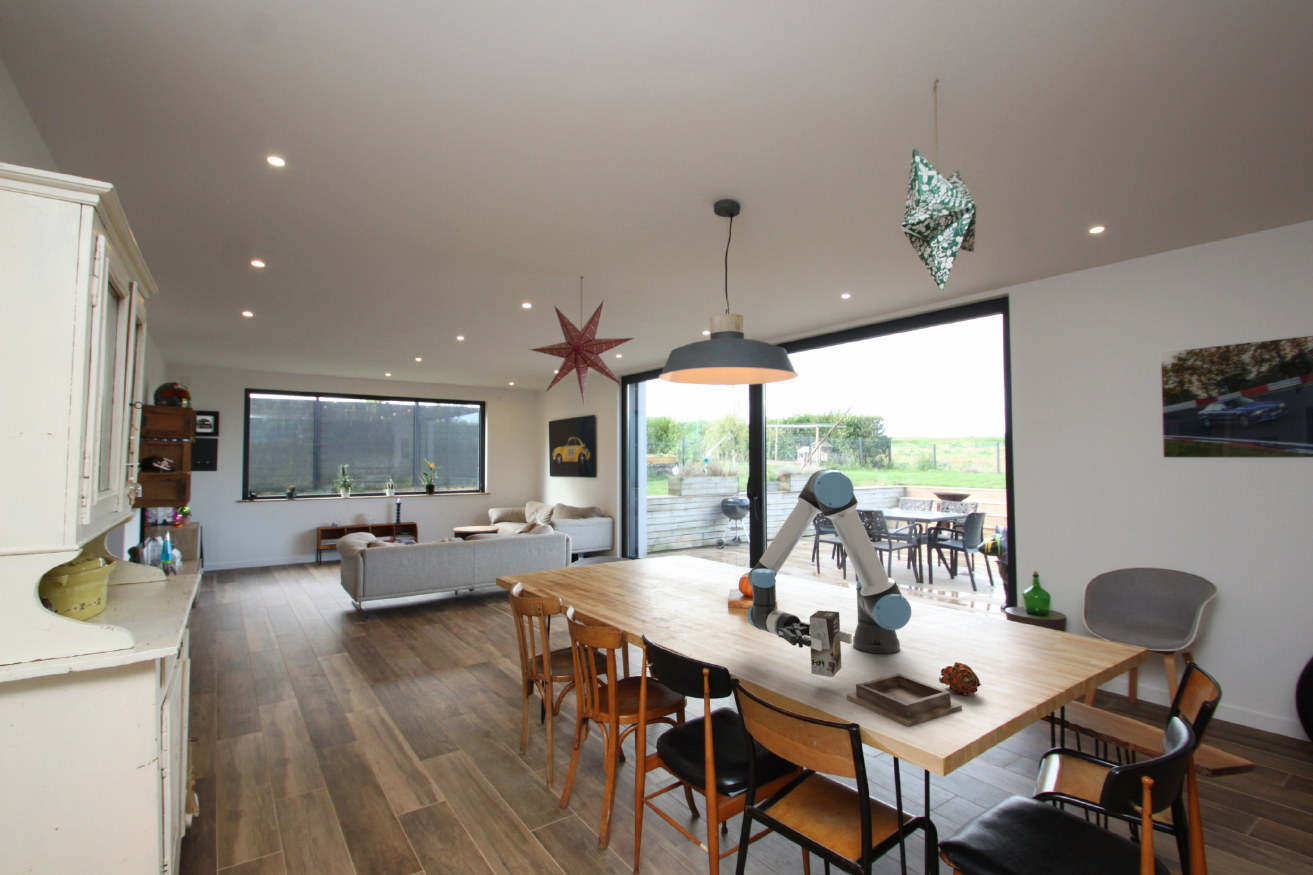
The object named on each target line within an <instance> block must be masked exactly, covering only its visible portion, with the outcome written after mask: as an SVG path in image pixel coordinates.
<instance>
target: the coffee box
mask: <svg viewBox="0 0 1313 875" xmlns="http://www.w3.org/2000/svg"><path fill="white" fill-rule="evenodd" d="M840 623H841V621H840V612H839V611H831V610H817V611H816V612H814V613H813V614H812V615H810V616H809V624H810V636H809V637H812V638H815V639H818V640H821V641H822V651H818V650H816V649H813V648H810V665H811V666H810V669H811V671H810V672H811V675H816V676H823V677H829V678H833V677H834V676H835V675H836V674H838V672H839V671H840V670H841V669H842V651H841V650H842V647H841V646H842V645H841V641H840V631H841V624H840Z"/></svg>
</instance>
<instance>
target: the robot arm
mask: <svg viewBox="0 0 1313 875" xmlns="http://www.w3.org/2000/svg"><path fill="white" fill-rule="evenodd" d="M854 490H855V489H854V485H853V481H852V480H851V479H850V477H849V476H848V475H847V474H845V473H844V472H842V471H840V470H837V469H820V470H819V469H818V470H817V471H815V472H814V473H812V475H811V476H810V477H809V479H808V480H807V482H806V483H805V485H804V486H803V488H802V490H801V492H800V493H799V495H798V497H797V500H798V501H797V503H796V505H795V506H794V508H793V509H792V510H791V512H790V514H789V516H788V517H787V518H786V520H785V521H784V523H783V524H782V526H781V527H780V529H779V530H778V532H777V533H776V535H775V537H773V539H772V541H771V543H770V544H769V546H768V547H767V548H766V550H765V551H764V553H763V554H762V555H761V557H760V559H759V560H758V562H757V563H756V565H755V566H754V567H753V568H751V569H750V570H749V572H748V576H747V581H748V584H749V586H750V588H751V590H752V605H751V606H750V607H749V608H748V609H747V610H748V611H747V612H746V619H747V621H748V623H749V625H751V626H752V627H754V628H756V629H758V630H760V631H764V632H767V633H770V634H773V635H775V636H777V637H778V638H781V639H783V640H785V641H786V642H788V643H789V644H790V645H791V646H797V644H798V648H800V649H802V648H803V647H804V646H806V647H808V648H810V649H811V648H813V649H816V650H818V651H822V641H821V640H818V639H815V638H812V637H810V623H807V622H803V621H801V619H800V618H799V617H798V616H797V615H794V614H791V613H788V612H786V611H782V610H780V609H777V599H776V598H777V590H776V588H777V587H776V582H777V580H776V577H777V575H778V573H779V572H780V571H781V569H782V567H783V565H784V564H785V563H786V561H787V560H788V558H789V557H790V556H791V554H792V553H793V551H794V550H795V548H796V546H797V545H798V544H799V541H800V540H801V539H802V537H803V536H804V535H805V533H806V531H807V530H808V529H809V527H810V525H811V524H812V522H813V521H814V519H815V518H816V516H817V515H818V514H821V513H822V515H823V517H824V518H828V519H830V521H831V522H832V524H833V527H834V529H835V532H836V533H837V536H838V538H839V539H840V540H839V541H840V542H841V544H842V546H843V548H844V551H845V553H846V555H847V557H848V559H849V561H850V564H851V566H852V567H853V569H854V570H853V571H854V572H855V574H856V575H857V578H858V580H857V582H856V589H855V590H856V598H857V599H856V605H857V606H856V608H857V609H856V611H857V624H856V628H855V632H854V636H853V637H852V635H853V634H852V633H850V632H846V631H843V630H840V642H842V643H845V644H849V645H853V647H854V648H855V649H857V650H860V651H861V652H866V653H873V654H894V653H897V652H899V651H900V650H901V642H900V639H899V638H898V635H897V630H900V629H903V628H904V627H905V626H906V625H907V624H908V623H909V622H910V619H911V617H912V608H911V607H912V606H911V604H910V602H909V601H908V600H907V599H908V598H906V597H905V596H903V594H902V593H901V591H900V588H899V586H898V584H897V582H896V581H895V579H894V578H892V577H889V576H888V575H887V574H888V573H887V572H886V570H885V567H884V566H883V564H882V562H881V560H880V558H879V555H878V553H877V551H876V549H875V547H874V545H873V543H872V541H871V538H870V537H869V534H868V532H867V530H866V528H865V526H864V524H863V521H862V519H861V517H860V516H859V515H860V514H859V512H858V511H857V506H858V505H859V504H858V503H859V502H858V500H857V498H856V495H855V493H854ZM852 638H853V639H852Z"/></svg>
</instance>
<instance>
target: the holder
mask: <svg viewBox="0 0 1313 875" xmlns="http://www.w3.org/2000/svg"><path fill="white" fill-rule="evenodd" d="M951 694H952V693H951V691H950V692H949V691H947V690H944V689H942V688H940V687H936V686H933V685H931V684H928V683H926V682H923V681H920V680H917V679H915V678H911V677H909V676H906V675H903V674H901V673H895V674H892V675H887V676H884V677H880V678H876V679H873V680H868V681H865V682H860V683H856V684H855V692H852V693H849V694H846V695H845V696H846V699H847V700H848V701H851V702H854V703H855V704H858V705H860V706H862V707H865V708H867V709H869V710H871V711H873V712H875V713H878V714H880V715H882V716H884V717H887V718H888V719H891V720H893V721H894V722H898V723H899V724H902V725H903V726H906V727H911V726H914V725H918V724H920V723H923V722H926V721H930V720H933V719H936V718H938V717H942V716H945V715H949V714H951V713H954V712H959V711H961V710H963V705H962V704H960V703H959V704H958V703H956V702H954V701H951V700H952V699H951V698H952V697H951Z"/></svg>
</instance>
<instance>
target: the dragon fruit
mask: <svg viewBox="0 0 1313 875" xmlns="http://www.w3.org/2000/svg"><path fill="white" fill-rule="evenodd" d="M940 675H941V676H942V677H938V679H939V680H938V681H939V683H940V684H944V685H946V686H949V687H948V689H949V691H950V693H959V694H960V695H963V696H969V695H970V694H975V693H977V692H978V688H979V687H980V686H982V683H980V679H979V676H977V673H975V672H974V670H973V669H972V668H971V667H970V666H969V665H968V664H964V663H962V662H957V661H955V662H954V664H953V665H952V666H951V665H949V666H948V665H947V666H946V667H945V668H942V669H941V670H940Z"/></svg>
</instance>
